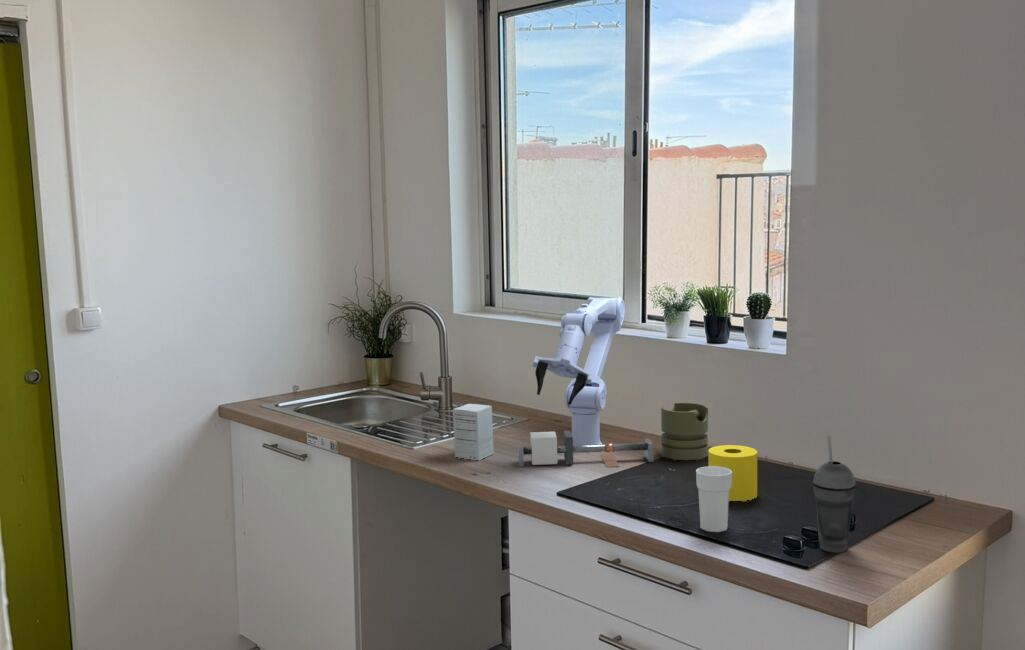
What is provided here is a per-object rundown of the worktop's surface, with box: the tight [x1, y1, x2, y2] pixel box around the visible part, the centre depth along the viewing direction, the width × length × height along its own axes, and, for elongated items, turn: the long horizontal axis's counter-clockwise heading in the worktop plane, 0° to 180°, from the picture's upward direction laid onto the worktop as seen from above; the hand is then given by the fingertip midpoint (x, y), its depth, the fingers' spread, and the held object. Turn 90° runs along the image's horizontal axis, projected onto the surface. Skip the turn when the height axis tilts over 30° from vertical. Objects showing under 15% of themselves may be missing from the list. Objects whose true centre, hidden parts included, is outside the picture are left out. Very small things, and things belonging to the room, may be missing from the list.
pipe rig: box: [517, 438, 654, 468], centre depth 226 cm, size 32×11×4 cm, turn 92°
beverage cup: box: [812, 435, 857, 553], centre depth 163 cm, size 7×7×20 cm
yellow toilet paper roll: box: [707, 444, 758, 502], centre depth 196 cm, size 10×10×9 cm
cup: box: [695, 465, 732, 533], centre depth 176 cm, size 7×7×11 cm
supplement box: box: [452, 403, 495, 462], centre depth 233 cm, size 7×7×13 cm
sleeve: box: [529, 431, 558, 466], centre depth 225 cm, size 6×6×6 cm
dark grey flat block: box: [563, 430, 574, 465], centre depth 225 cm, size 2×7×6 cm, turn 2°
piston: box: [660, 402, 709, 460], centre depth 229 cm, size 11×12×11 cm
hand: (554, 397), depth 219 cm, fingers open, 7 cm apart
